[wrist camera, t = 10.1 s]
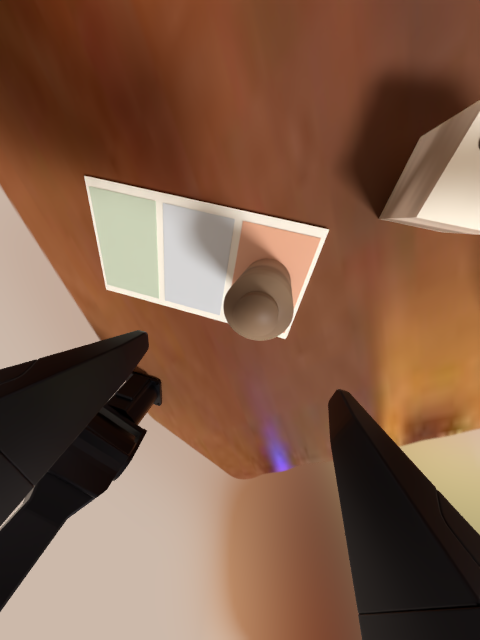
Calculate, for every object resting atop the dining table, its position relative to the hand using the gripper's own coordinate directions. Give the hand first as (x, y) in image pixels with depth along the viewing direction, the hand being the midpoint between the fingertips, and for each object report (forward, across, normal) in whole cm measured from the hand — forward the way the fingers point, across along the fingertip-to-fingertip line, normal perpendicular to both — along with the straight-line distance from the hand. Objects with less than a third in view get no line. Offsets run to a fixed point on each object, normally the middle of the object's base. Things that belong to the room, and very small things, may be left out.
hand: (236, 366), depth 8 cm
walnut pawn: (+12, 0, 0) cm, 13 cm away
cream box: (+13, -10, -10) cm, 20 cm away
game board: (+13, +8, 0) cm, 15 cm away
